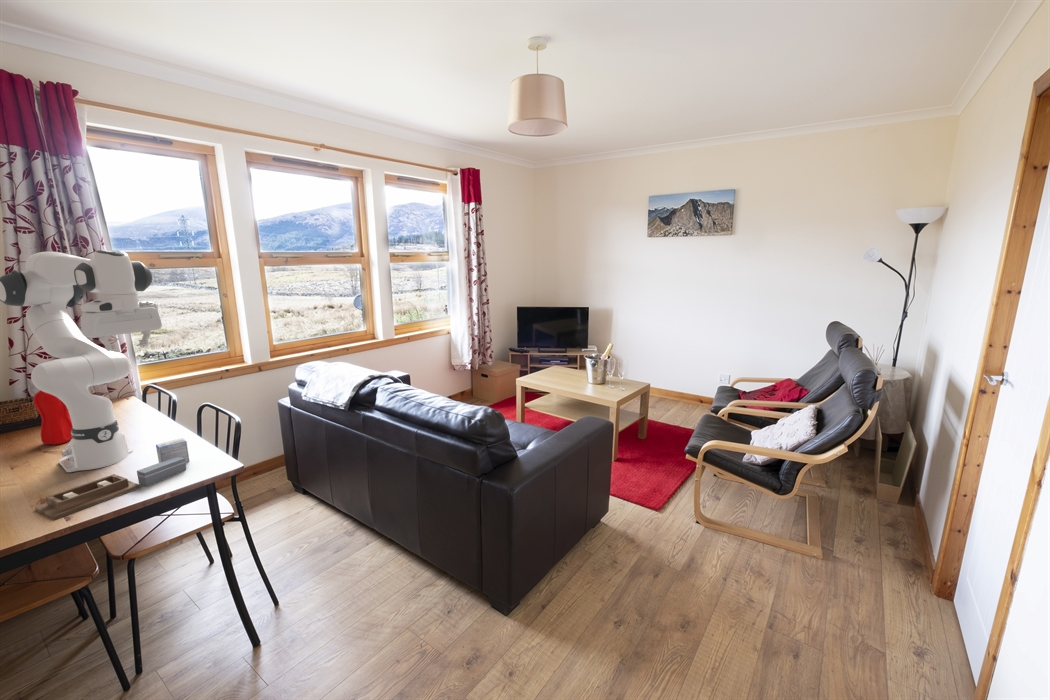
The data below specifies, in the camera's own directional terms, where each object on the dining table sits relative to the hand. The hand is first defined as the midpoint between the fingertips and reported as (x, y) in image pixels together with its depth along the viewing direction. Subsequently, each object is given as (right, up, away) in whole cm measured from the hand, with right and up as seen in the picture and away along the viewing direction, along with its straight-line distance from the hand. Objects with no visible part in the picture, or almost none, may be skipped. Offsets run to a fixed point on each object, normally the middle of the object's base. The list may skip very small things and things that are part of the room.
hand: (128, 347), depth 141 cm
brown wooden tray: (-7, -46, -5) cm, 46 cm away
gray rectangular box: (+4, -43, +8) cm, 44 cm away
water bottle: (-63, -38, +41) cm, 84 cm away
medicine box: (+1, -42, +18) cm, 45 cm away
